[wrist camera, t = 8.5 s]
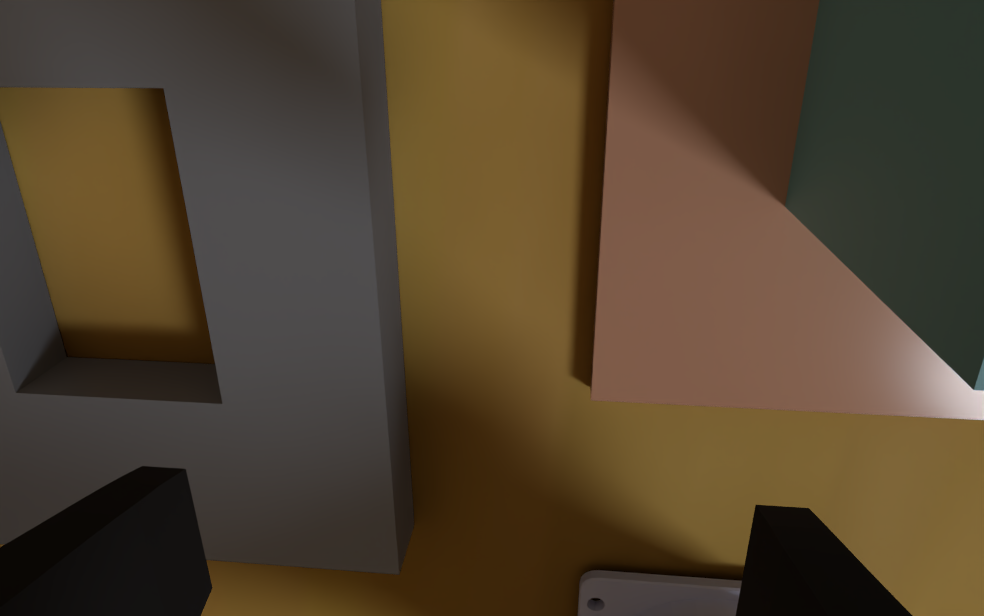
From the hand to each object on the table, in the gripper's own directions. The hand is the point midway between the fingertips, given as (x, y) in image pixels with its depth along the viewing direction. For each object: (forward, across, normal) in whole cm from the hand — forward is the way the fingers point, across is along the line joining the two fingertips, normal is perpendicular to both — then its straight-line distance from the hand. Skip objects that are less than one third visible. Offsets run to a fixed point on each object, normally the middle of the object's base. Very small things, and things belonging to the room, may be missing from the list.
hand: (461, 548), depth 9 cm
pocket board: (+9, +10, -1) cm, 14 cm away
